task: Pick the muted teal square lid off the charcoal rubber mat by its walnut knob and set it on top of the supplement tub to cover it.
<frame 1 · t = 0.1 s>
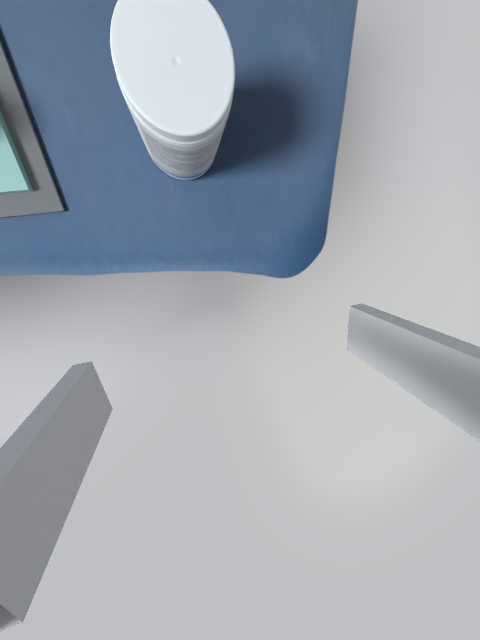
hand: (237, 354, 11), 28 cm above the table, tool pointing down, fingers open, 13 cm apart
supplement tub: (180, 141, 30), on the table
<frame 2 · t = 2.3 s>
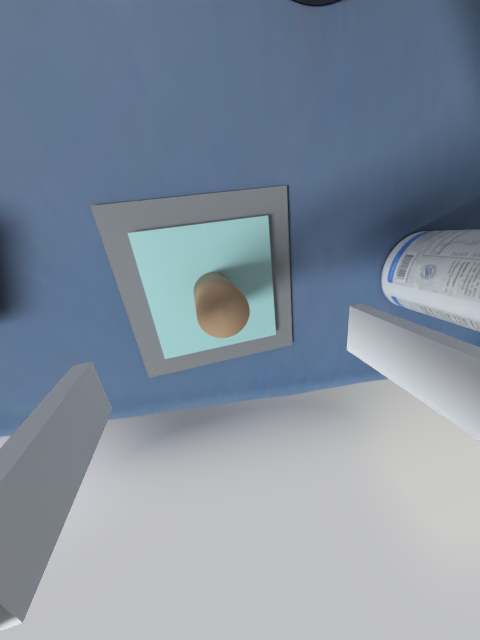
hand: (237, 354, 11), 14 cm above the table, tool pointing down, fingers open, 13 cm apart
mat: (211, 288, 24), on the table
supplement tub: (407, 269, 29), on the table
lid: (212, 289, 24), resting on mat
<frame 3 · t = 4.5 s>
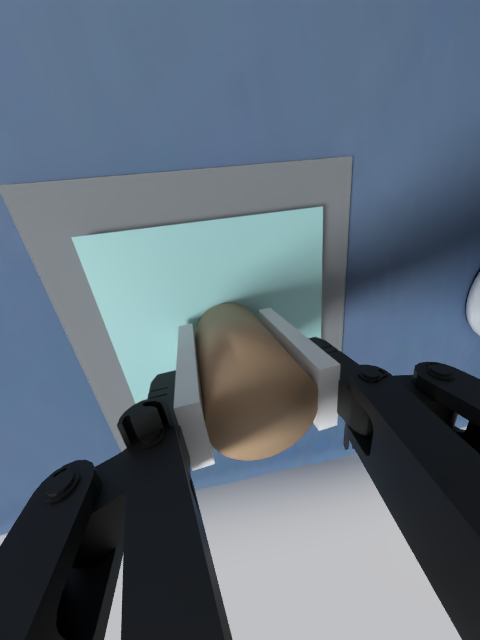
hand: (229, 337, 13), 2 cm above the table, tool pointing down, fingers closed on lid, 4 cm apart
mat: (223, 324, 15), on the table
lid: (225, 327, 15), resting on mat, touching gripper
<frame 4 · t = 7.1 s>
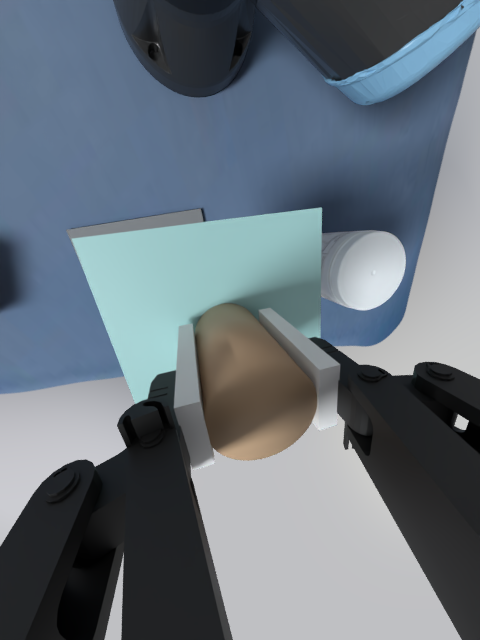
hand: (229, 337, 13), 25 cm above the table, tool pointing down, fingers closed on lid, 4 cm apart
mat: (156, 281, 34), on the table
supplement tub: (308, 261, 39), on the table
lid: (224, 328, 15), point 23 cm above the table, touching gripper
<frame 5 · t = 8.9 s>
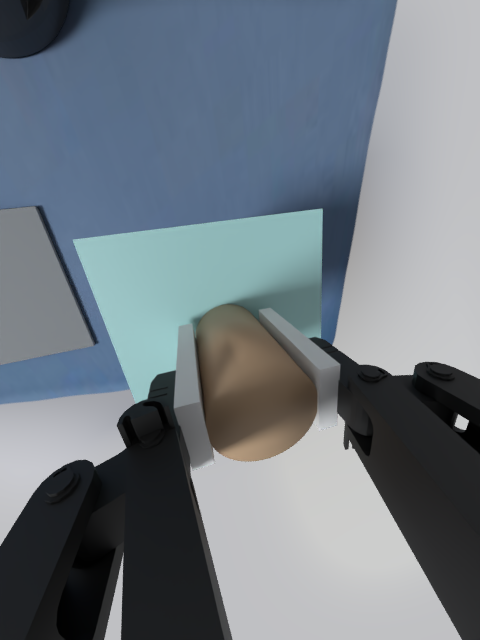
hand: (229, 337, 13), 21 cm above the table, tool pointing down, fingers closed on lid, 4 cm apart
lid: (225, 328, 15), point 19 cm above the table, touching gripper
when the fingers open (19 cm above the table, at t = 10.2 s): lid drops 2 cm, resting on supplement tub.
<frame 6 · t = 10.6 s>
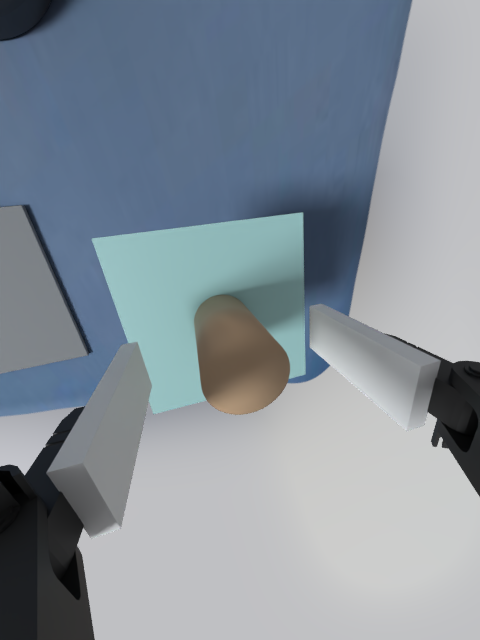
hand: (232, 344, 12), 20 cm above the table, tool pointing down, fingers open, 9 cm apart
lid: (220, 317, 17), point 15 cm above the table, touching supplement tub
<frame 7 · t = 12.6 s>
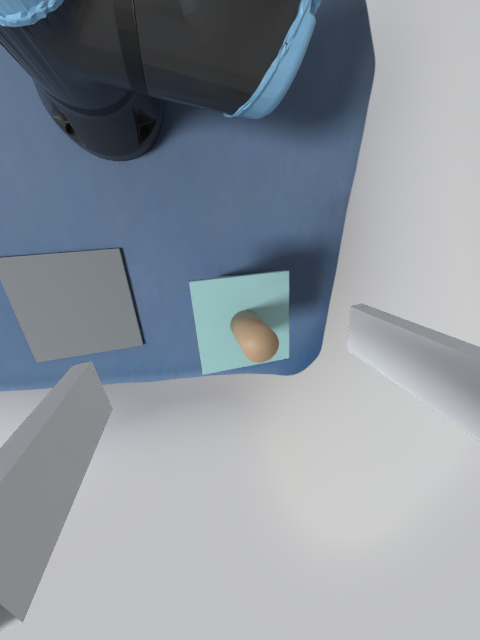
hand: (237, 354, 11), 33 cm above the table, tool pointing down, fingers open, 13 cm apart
mat: (77, 306, 39), on the table
lid: (242, 322, 31), point 15 cm above the table, touching supplement tub
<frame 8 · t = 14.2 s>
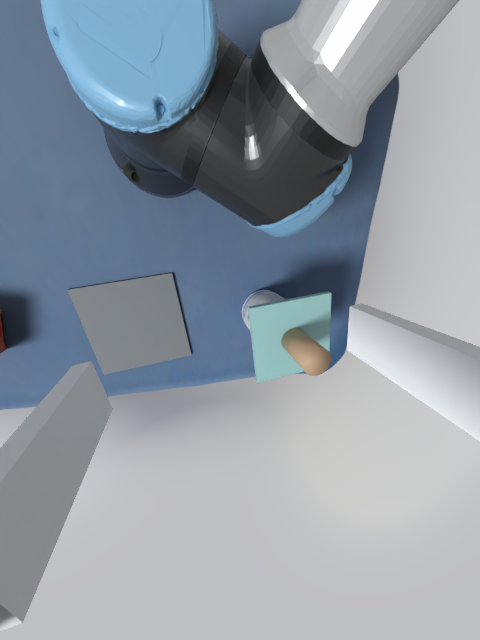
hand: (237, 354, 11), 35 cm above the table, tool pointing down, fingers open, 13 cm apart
mat: (136, 325, 44), on the table
supplement tub: (261, 309, 49), on the table, touching lid
lid: (290, 337, 36), point 15 cm above the table, touching supplement tub
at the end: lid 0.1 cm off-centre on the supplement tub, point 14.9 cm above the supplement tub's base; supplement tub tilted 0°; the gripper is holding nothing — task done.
